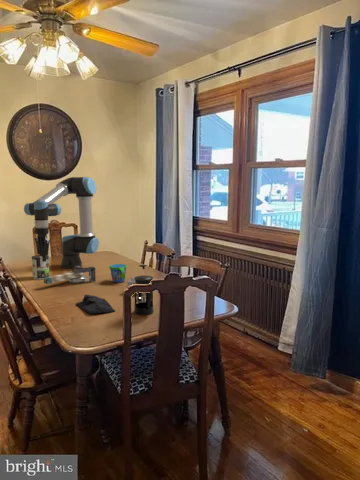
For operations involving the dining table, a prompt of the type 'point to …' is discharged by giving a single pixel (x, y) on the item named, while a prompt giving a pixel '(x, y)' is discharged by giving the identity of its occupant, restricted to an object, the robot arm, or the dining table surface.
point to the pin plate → (78, 279)
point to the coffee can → (40, 268)
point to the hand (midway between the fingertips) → (43, 266)
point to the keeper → (89, 269)
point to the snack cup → (118, 272)
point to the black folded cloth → (95, 305)
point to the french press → (146, 301)
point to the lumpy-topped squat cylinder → (132, 282)
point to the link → (62, 277)
